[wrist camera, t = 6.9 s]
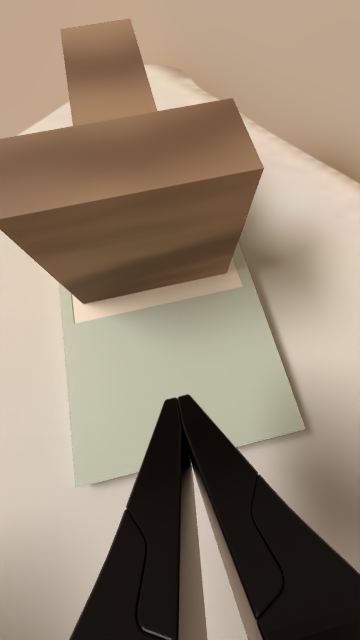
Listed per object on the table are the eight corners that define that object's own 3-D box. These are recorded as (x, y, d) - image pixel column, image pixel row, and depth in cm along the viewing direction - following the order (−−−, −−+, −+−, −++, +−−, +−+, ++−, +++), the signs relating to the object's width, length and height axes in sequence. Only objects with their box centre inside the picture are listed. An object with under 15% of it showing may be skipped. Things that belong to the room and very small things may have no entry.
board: (297, 426, 14) (305, 429, 13) (83, 481, 14) (75, 488, 13) (203, 157, 21) (204, 145, 20) (56, 184, 20) (49, 174, 19)
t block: (226, 273, 16) (263, 168, 9) (83, 304, 16) (-10, 220, 8) (189, 158, 20) (192, 8, 12) (69, 180, 19) (-7, 39, 12)
